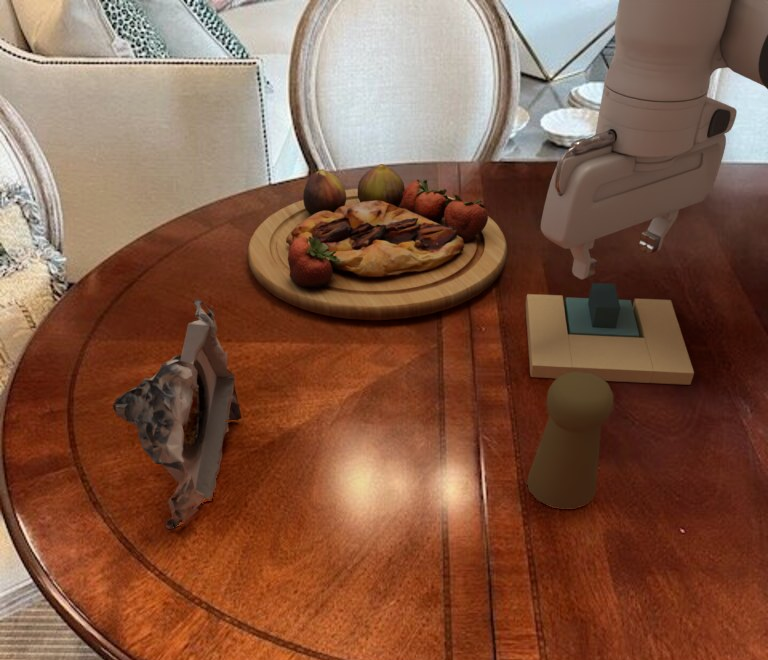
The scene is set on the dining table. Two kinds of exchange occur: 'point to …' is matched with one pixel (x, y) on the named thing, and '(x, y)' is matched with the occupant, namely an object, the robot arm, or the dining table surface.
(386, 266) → the wooden plate
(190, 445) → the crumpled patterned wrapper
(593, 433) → the olive game pawn
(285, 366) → the dining table surface
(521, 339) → the dining table surface
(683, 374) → the base pad
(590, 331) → the teal pad
